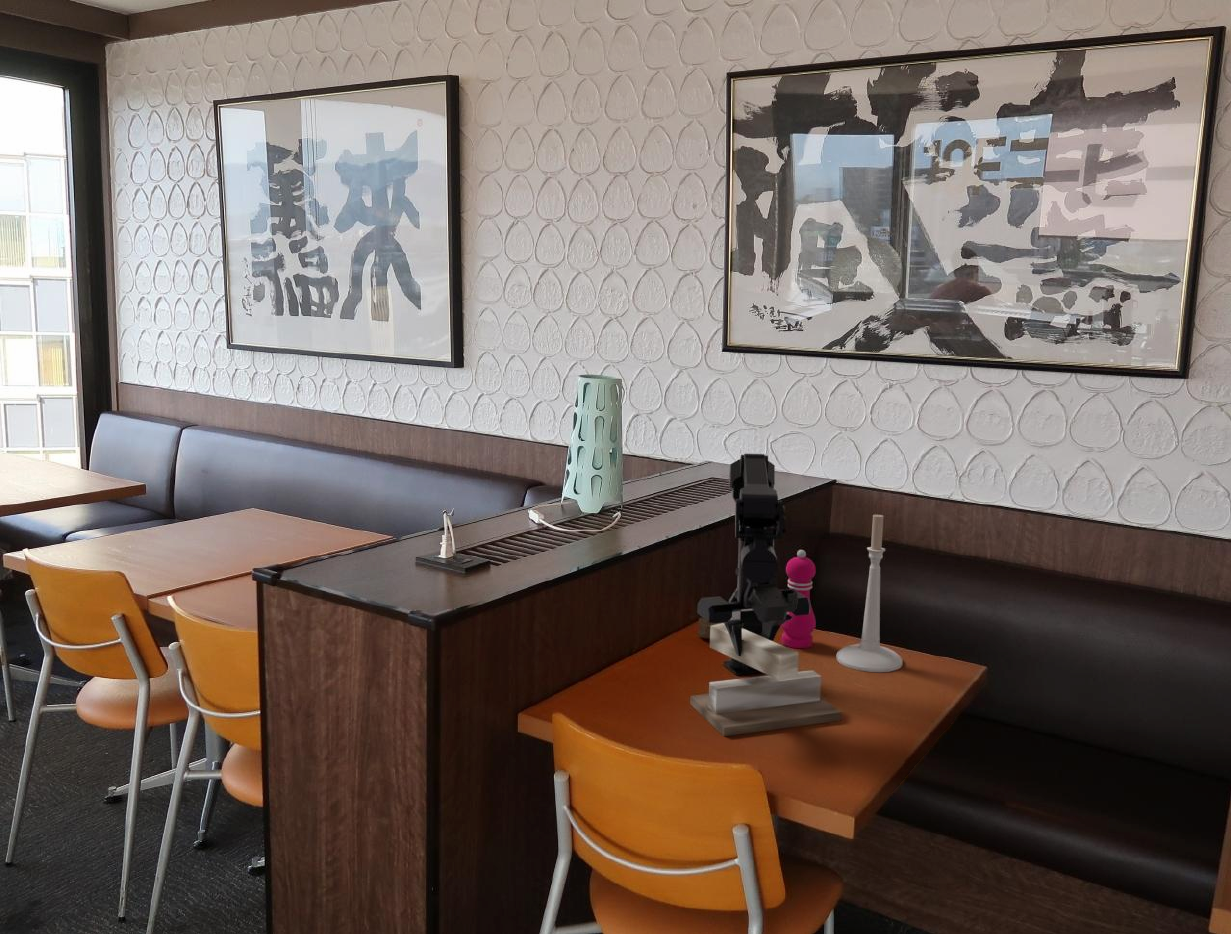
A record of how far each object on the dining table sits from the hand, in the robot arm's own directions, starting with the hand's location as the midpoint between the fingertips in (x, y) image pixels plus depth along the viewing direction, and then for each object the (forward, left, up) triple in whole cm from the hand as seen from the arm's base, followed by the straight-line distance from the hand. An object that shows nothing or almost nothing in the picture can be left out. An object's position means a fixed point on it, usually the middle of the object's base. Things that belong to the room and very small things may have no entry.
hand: (752, 654), depth 178 cm
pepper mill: (-30, +26, -11) cm, 41 cm away
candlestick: (-17, +35, -11) cm, 40 cm away
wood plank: (-35, +14, -11) cm, 39 cm away
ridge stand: (0, +3, -11) cm, 11 cm away
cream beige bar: (0, 0, -1) cm, 1 cm away
